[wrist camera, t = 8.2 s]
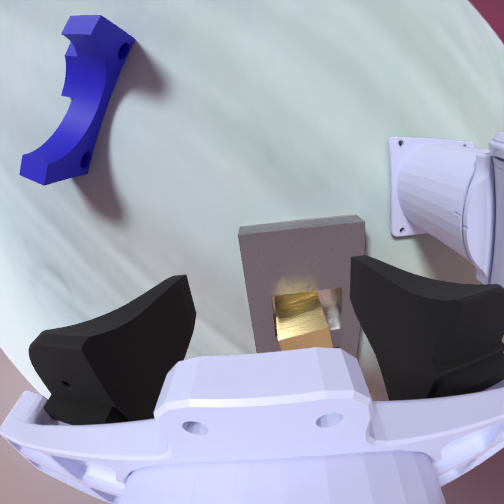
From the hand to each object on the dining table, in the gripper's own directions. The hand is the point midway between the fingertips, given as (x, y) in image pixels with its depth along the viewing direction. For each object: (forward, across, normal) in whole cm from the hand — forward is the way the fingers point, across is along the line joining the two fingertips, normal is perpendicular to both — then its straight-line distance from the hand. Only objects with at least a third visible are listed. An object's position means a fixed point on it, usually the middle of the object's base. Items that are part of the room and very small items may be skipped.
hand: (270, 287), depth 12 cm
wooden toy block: (+10, -2, +10) cm, 14 cm away
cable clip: (+10, +13, -13) cm, 21 cm away
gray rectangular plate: (+10, -2, +10) cm, 14 cm away
